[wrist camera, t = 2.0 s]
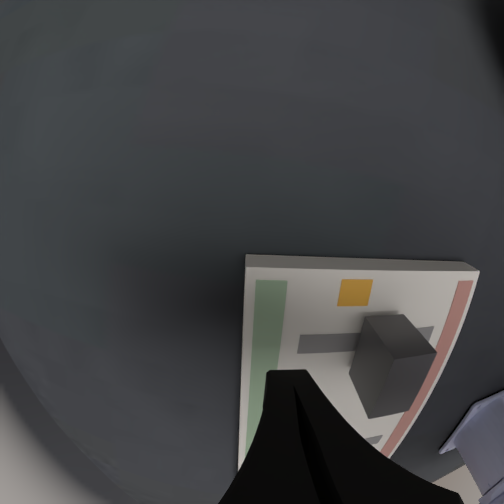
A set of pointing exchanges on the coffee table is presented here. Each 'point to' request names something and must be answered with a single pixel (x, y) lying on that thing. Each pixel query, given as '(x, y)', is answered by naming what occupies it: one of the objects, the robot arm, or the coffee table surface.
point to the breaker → (390, 364)
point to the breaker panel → (343, 328)
